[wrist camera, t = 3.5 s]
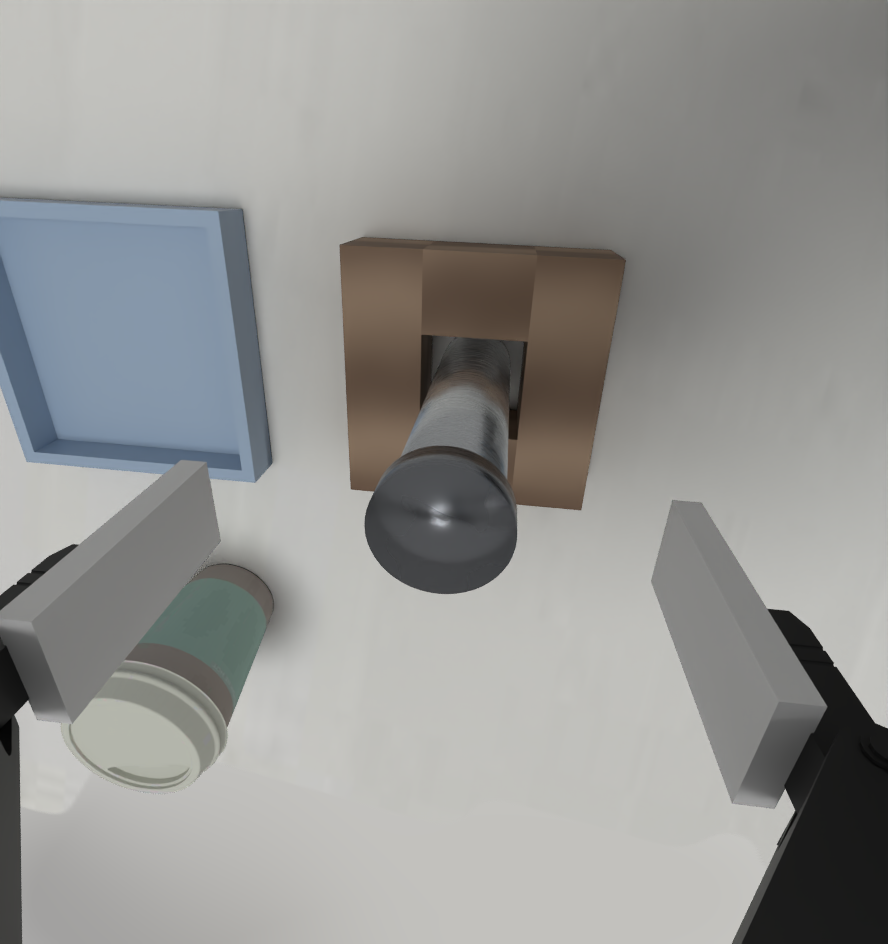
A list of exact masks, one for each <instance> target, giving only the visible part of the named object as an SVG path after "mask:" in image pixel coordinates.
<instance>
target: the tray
mask: <svg viewBox="0 0 888 944" xmlns="http://www.w3.org/2000/svg"><path fill="white" fill-rule="evenodd" d="M0 386H1V389H2V392H3V395H4V398H5V401H6V404H7V406H8V409H9V412H10V415H11V418H12V421H13V424H14V427H15V429H16V432H17V435H18V438H19V441H20V444H21V447H22V450H23V452H24V455H25V458H26V461H27V462H34V463H45V464H56V465H67V466H78V467H89V468H100V469H111V470H122V471H133V472H144V473H155V474H165V473H166V472H167V471H168V470H170V469H171V468H172V467H173V466H174V465H176V464H177V463H178V462H179V461H180V460H189V461H201V462H207V467H208V473H209V478H210V479H221V480H232V481H243V482H254V483H255V482H256V481H257V480H258V479H259V478H260V477H261V476H262V474H263V473H264V472H265V471H266V470H267V469H268V468H269V466H270V465H271V464H272V456H271V447H270V439H269V430H268V422H267V414H266V405H265V397H264V388H263V380H262V371H261V363H260V355H259V346H258V338H257V329H256V321H255V312H254V304H253V296H252V287H251V279H250V270H249V262H248V253H247V245H246V237H245V228H244V220H243V211H242V209H229V208H208V207H188V206H167V205H146V204H125V203H105V202H84V201H63V200H42V199H21V198H1V197H0Z"/></svg>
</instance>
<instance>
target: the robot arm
mask: <svg viewBox="0 0 888 944" xmlns="http://www.w3.org/2000/svg"><path fill="white" fill-rule="evenodd" d="M220 541H221V540H220V534H219V529H218V523H217V517H216V512H215V506H214V501H213V495H212V489H211V484H210V478H209V473H208V467H207V462H201V461H189V460H180V461H179V462H178V463H177V464H176V465H174V466H173V467H172V468H171V469H170V470H168V471H167V472H166V473H165V474H164V475H162V476H161V477H160V478H159V479H158V480H156V481H155V482H154V483H153V484H152V485H150V486H149V487H148V488H147V489H146V490H144V491H143V492H142V493H141V494H140V495H138V496H137V497H136V498H135V499H134V500H132V501H131V502H130V503H129V504H128V505H126V506H125V507H124V508H123V509H122V510H120V511H119V512H118V513H117V514H116V515H114V516H113V517H112V518H111V519H110V520H108V521H107V522H106V523H105V524H104V525H102V526H101V527H100V528H99V529H98V530H96V531H95V532H94V533H93V534H92V535H90V536H89V537H88V538H87V539H86V540H84V541H83V542H82V543H81V544H80V545H75V544H72V545H70V546H68V547H66V548H64V549H62V550H60V551H58V552H56V553H54V554H52V555H50V556H49V557H47V558H46V559H45V560H44V561H42V562H41V563H40V564H39V565H37V566H36V567H35V568H34V569H32V572H31V573H27V574H26V575H25V576H24V577H22V578H21V579H20V580H19V581H18V582H17V585H13V586H11V587H10V588H9V589H8V590H6V591H5V592H4V593H3V594H1V595H0V944H22V913H21V912H22V909H21V908H22V906H21V833H20V832H21V829H20V753H19V725H18V723H17V720H16V718H15V716H14V714H15V713H16V712H17V711H18V710H19V709H20V708H21V707H22V706H23V705H24V704H25V703H26V702H27V701H29V703H30V705H31V707H32V710H33V712H34V714H35V716H36V719H37V720H42V721H50V722H58V723H66V724H73V723H74V721H75V720H76V719H77V718H78V716H79V715H80V714H81V713H82V712H83V710H84V709H85V708H86V707H87V705H88V704H89V703H90V702H91V700H92V699H93V698H94V697H95V696H96V694H97V693H98V692H99V691H100V689H101V688H102V687H103V686H104V684H105V683H106V682H107V681H108V679H109V678H110V677H111V676H112V675H113V673H114V672H115V671H116V670H117V668H118V667H119V666H120V665H121V663H122V662H123V661H124V660H125V659H126V657H127V656H128V655H129V654H130V652H131V651H132V650H133V649H134V647H135V646H136V645H137V644H138V643H139V641H140V640H141V639H142V638H143V636H144V635H145V634H146V633H147V631H148V630H149V629H150V628H151V627H152V625H153V624H154V623H155V622H156V620H157V619H158V618H159V617H160V615H161V614H162V613H163V612H164V610H165V609H166V608H167V607H168V606H169V604H170V603H171V602H172V601H173V599H174V598H175V597H176V596H177V594H178V593H179V592H180V591H181V590H182V588H183V587H184V586H185V585H186V583H187V582H188V581H189V580H190V578H191V577H192V576H193V575H194V574H195V572H196V571H197V570H198V569H199V567H200V566H201V565H202V564H203V562H204V561H205V560H206V559H207V558H208V556H209V555H210V554H211V553H212V551H213V550H214V549H215V548H216V546H217V545H218V544H219V543H220ZM651 582H652V585H653V588H654V590H655V593H656V596H657V599H658V601H659V604H660V607H661V610H662V612H663V615H664V618H665V621H666V623H667V626H668V629H669V631H670V634H671V637H672V640H673V642H674V645H675V648H676V651H677V653H678V656H679V659H680V662H681V664H682V667H683V670H684V673H685V675H686V678H687V681H688V683H689V686H690V689H691V692H692V694H693V697H694V700H695V703H696V705H697V708H698V711H699V714H700V716H701V719H702V722H703V725H704V727H705V730H706V733H707V736H708V738H709V741H710V744H711V746H712V749H713V752H714V755H715V757H716V760H717V763H718V766H719V768H720V771H721V774H722V777H723V779H724V782H725V785H726V788H727V790H728V793H729V796H730V798H731V801H732V804H740V805H748V806H756V807H765V808H773V809H775V807H776V805H777V803H778V801H779V799H780V797H781V796H782V794H783V792H784V790H785V789H786V791H787V793H788V795H789V797H790V800H791V802H792V804H793V806H794V808H795V812H794V814H793V816H792V818H791V820H790V821H789V823H788V825H787V827H786V829H785V831H784V832H783V834H782V836H781V838H780V840H779V841H778V843H777V845H778V847H777V849H776V851H775V853H774V855H773V858H772V860H771V862H770V864H769V866H768V868H767V870H766V872H765V875H764V877H763V879H762V881H761V883H760V885H759V887H758V889H757V891H756V894H755V896H754V898H753V900H752V902H751V904H750V906H749V908H748V910H747V913H746V915H745V917H744V919H743V921H742V923H741V925H740V928H739V930H738V932H737V934H736V936H735V938H734V940H733V943H732V944H888V728H885V727H883V726H881V725H878V724H876V723H875V722H874V721H873V720H872V718H871V717H870V715H869V714H868V712H867V711H866V709H865V708H864V706H863V705H862V704H861V702H860V701H859V699H858V698H857V696H856V695H855V693H854V692H853V690H852V689H851V687H850V686H849V685H848V683H847V682H846V680H845V679H844V677H843V676H842V674H841V673H840V671H839V670H838V669H837V667H834V666H833V664H834V663H833V661H832V660H831V658H830V657H829V655H828V654H827V653H826V651H823V647H822V645H821V644H820V642H819V641H818V639H817V638H816V637H815V635H814V634H813V632H812V631H811V629H810V628H809V627H808V626H806V625H805V624H804V623H803V622H802V621H800V620H799V619H798V618H797V617H796V616H794V615H793V614H792V613H791V612H790V611H784V610H773V609H767V608H766V606H765V605H764V603H763V601H762V600H761V598H760V597H759V595H758V593H757V592H756V590H755V588H754V587H753V585H752V584H751V582H750V580H749V579H748V577H747V576H746V574H745V572H744V571H743V569H742V567H741V566H740V564H739V563H738V561H737V559H736V558H735V556H734V554H733V553H732V551H731V550H730V548H729V546H728V545H727V543H726V541H725V540H724V538H723V537H722V535H721V533H720V532H719V530H718V528H717V527H716V525H715V524H714V522H713V520H712V519H711V517H710V516H709V514H708V512H707V511H706V509H705V507H704V506H703V504H702V503H700V502H688V501H675V500H672V504H671V508H670V512H669V515H668V519H667V523H666V527H665V531H664V534H663V538H662V542H661V546H660V549H659V553H658V557H657V561H656V565H655V568H654V572H653V576H652V580H651Z"/></svg>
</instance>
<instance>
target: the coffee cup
mask: <svg viewBox="0 0 888 944" xmlns="http://www.w3.org/2000/svg"><path fill="white" fill-rule="evenodd" d="M272 612H273V599H272V595H271V593H270V591H269V589H268V588H267V586H266V585H265V584H264V583H263V582H262V581H261V580H260V579H259V578H258V577H257V576H256V575H254V574H253V573H251V572H249V571H248V570H245V569H243V568H241V567H237V566H234V565H227V564H219V565H213V566H210V567H207V568H205V569H204V570H202V571H201V572H200V573H199V574H198V575H197V576H196V577H195V578H193V579H192V580H191V581H190V582H189V583H188V584H187V585H186V586H185V587H184V588H182V590H181V591H180V592H179V593H178V594H177V596H176V597H175V598H174V599H173V601H172V602H171V603H170V604H169V606H168V607H167V608H166V609H165V610H164V612H163V613H162V614H161V615H160V617H159V618H158V619H157V620H156V622H155V623H154V624H153V625H152V627H151V628H150V629H149V630H148V631H147V633H146V634H145V635H144V636H143V638H142V639H141V640H140V641H139V643H138V644H137V645H136V646H135V647H134V649H133V650H132V651H131V652H130V654H129V655H128V656H127V657H126V659H125V660H124V661H123V662H122V663H121V665H120V666H119V667H118V668H117V670H116V671H115V672H114V673H113V675H112V676H111V677H110V678H109V679H108V681H107V682H106V683H105V684H104V686H103V687H102V688H101V689H100V691H99V692H98V693H97V694H96V696H95V697H94V698H93V699H92V700H91V702H90V703H89V704H88V705H87V707H86V708H85V709H84V710H83V712H82V713H81V714H80V715H79V716H78V718H77V719H76V720H75V721H74V723H73V724H66V723H61V732H62V736H63V739H64V741H65V743H66V745H67V747H68V748H69V750H70V751H71V752H72V754H73V755H74V756H75V757H76V758H77V759H78V760H79V761H80V762H81V763H82V764H83V765H84V766H85V767H87V768H88V769H89V770H91V771H92V772H93V773H95V774H97V775H98V776H100V777H101V778H103V779H105V780H107V781H110V782H111V783H114V784H116V785H118V786H121V787H124V788H127V789H130V790H134V791H138V792H143V793H152V794H166V793H173V792H177V791H180V790H183V789H185V788H187V787H188V786H190V785H191V784H192V783H193V782H195V780H196V779H197V778H198V777H199V776H200V775H201V774H202V773H203V771H206V770H207V769H208V768H210V767H211V766H212V765H213V764H214V762H215V761H216V759H217V758H218V756H220V754H221V753H222V752H223V750H224V749H225V746H226V743H227V738H228V733H227V727H228V724H229V722H230V719H231V717H232V714H233V712H234V709H235V706H236V704H237V701H238V699H239V696H240V694H241V691H242V689H243V686H244V684H245V681H246V679H247V676H248V673H249V671H250V668H251V666H252V663H253V661H254V658H255V656H256V653H257V651H258V648H259V646H260V643H261V640H262V638H263V635H264V633H265V630H266V628H267V625H268V622H269V620H270V617H271V615H272Z"/></svg>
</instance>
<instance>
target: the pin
mask: <svg viewBox="0 0 888 944" xmlns="http://www.w3.org/2000/svg"><path fill="white" fill-rule="evenodd" d="M509 393H510V357H509V354H508V351H507V349H506V347H505V346H504V344H503V343H502V342H501V341H500V340H495V339H480V338H464V337H456V338H455V339H454V340H453V341H452V342H451V343H450V344H449V345H448V347H447V349H446V351H445V353H444V355H443V358H442V360H441V363H440V365H439V367H438V370H437V372H436V374H435V377H434V379H433V381H432V384H431V386H430V389H429V391H428V393H427V396H426V398H425V400H424V403H423V405H422V407H421V410H420V412H419V415H418V417H417V419H416V422H415V424H414V426H413V429H412V431H411V434H410V436H409V438H408V441H407V443H406V445H405V448H404V450H403V452H402V455H401V457H400V458H398V459H397V460H396V461H394V462H393V463H392V464H391V465H390V466H389V467H388V468H387V470H386V471H385V472H384V473H383V475H382V477H381V479H380V480H379V482H378V485H377V487H376V489H375V491H374V493H373V495H372V498H371V500H370V502H369V505H368V507H367V510H366V515H365V534H366V538H367V542H368V545H369V547H370V549H371V551H372V553H373V555H374V557H375V558H376V560H377V561H378V562H379V563H380V565H381V566H382V567H383V568H384V569H385V570H386V571H387V572H388V573H390V574H391V575H392V576H393V577H395V578H396V579H398V580H399V581H401V582H403V583H405V584H407V585H409V586H411V587H413V588H416V589H419V590H422V591H426V592H431V593H438V594H456V593H462V592H467V591H471V590H474V589H477V588H479V587H481V586H483V585H485V584H487V583H489V582H490V581H492V580H493V579H494V578H496V577H497V576H498V575H499V574H500V573H501V572H502V571H503V570H504V569H505V567H506V566H507V565H508V563H509V562H510V560H511V558H512V556H513V553H514V550H515V547H516V542H517V506H516V499H515V496H514V492H513V490H512V488H511V486H510V484H509V482H508V480H507V468H508V430H509Z"/></svg>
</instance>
